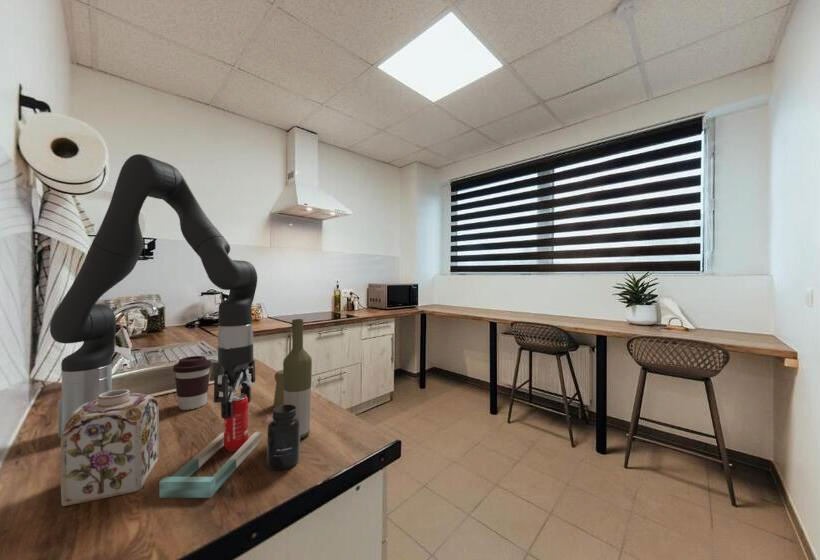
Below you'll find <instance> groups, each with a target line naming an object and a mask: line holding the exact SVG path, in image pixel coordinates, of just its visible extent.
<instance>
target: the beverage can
mask: <svg viewBox="0 0 820 560" xmlns="http://www.w3.org/2000/svg"><path fill="white" fill-rule="evenodd" d="M232 402H233V416H232V417H231V418H223V432H224V445H223V446H224V447H225V449H226V451H227V452H235V451H236V452H237V451H238V450H239V449H240V447H241V446H242V445H243V444H244V443H245V442H246V441H247V440H248V439H249V403H248V398H247V395H246V394H242V393H241V392H240V393H239V392H238V393H234V395H233V399H232Z"/></svg>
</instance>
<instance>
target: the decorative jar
mask: <svg viewBox="0 0 820 560" xmlns="http://www.w3.org/2000/svg"><path fill="white" fill-rule="evenodd" d="M159 404H160V402H159V401H158V400H157V399H156V398H155V397H154V396H153V395H149V394H146V393H142V392H141V393H140V392H136V393H130V390H129V389H116V390H113V389H112V391H109V392H105V393H102V394H100V395H99V396H98V399H96V400H94V401H91V402H88V403H85V404H83V405H82V406H80V407H79V408H77V409H76V410H75V411H74V412H73V413H72V414H71V416H70V417H69V420H68V422H67V423H66V425H65V427H64V429H63V431H62V432H61V434H60V435H61V437H60V500H61V501H60V502H61V507H67V506H73V505H74V506H75V505H77V504H83V503H84V504H85V503H88V502H89V503H90V502H93V501H97V500H103V499H107V498H112V497H116V496H121V495H126V494H131V493H135V492H136V493H137V492H140V491H141V489H142V488H143V486H144V485H145V483H146V481H147V479H148V477H149V476H150V474H151V472H152V471H153V469H154V467H155V466H156V464H157V463H158V461H159V460H160V459H159V453H160V451H159V450H160V424H159V423H160V419H159V417H160V414H159V413H160V412H159Z"/></svg>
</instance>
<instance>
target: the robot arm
mask: <svg viewBox="0 0 820 560" xmlns="http://www.w3.org/2000/svg"><path fill="white" fill-rule="evenodd" d="M118 174H119V175H118V177H117V180H116V183H115V185H114V190H113V193H112V196H111V200H110V202H109V206H108V208H107V210H106V213H105V215H104V217H103V220H102V222H101V225H100V226H99V228H98V231H97V233H96V235H95V236H94V238H93V240H92V242H91V244H90V246H89V248H88V251H87V254H86V256H85V258H84V260H83V263H82V265H81V266H80V269H79V271H78V273H77V275H76V277H75V279H74V280H73V283H72V284H71V286H70V287H69V289H68V290H67V293H66V294H64V295H65V296H64V297H63V298H62V299H61V302H60V303H59V304H58V305H57V306H58V307H57V308H56V309H55V311H54V313H53V314H52V317H51V319H50V325H49V332H50V335H51V337H52V339H53V340H54V341H55V342H57V343H60V344H75V343H76V344H77V343H81V342H83V344H82V345H81V346H80V347H79V348H78V349H77V350H76V351H74V352H72V353H71V354H69V355H67V356H65V357H64V358H63V359H62V360H61V365H60V367H61V398H60V399H58V401H57V420H58V421H57V424H58V426H57V429H58V430H57V431H58V433H57V434H58V436H57V437H58V438H61V435H60V434H61V432H62V431H63V429H64V427H65V425H66V423H67V422H68V420H69V417H70V416H71V414H72V413H73V412H74V411H75V410H76V409H77V408H79V407H80V406H82V405H83V404H85V403H88V402H91V401H94V400H96V399H98V396H99V395H100V394H102V393H105V392H109V391H113V388H112V387H113V385H112V383H113V379H112V377H113V376H112V375H113V372H112V371H113V370H112V365H113V364H112V358H113V356H114V354H115V348H116V334H117V332H116V331H117V319H116V315H115V312H114V310H112V308H111V307H110V306H109V305H106V304H103V303H102V304H100V303H98V304H97V302H98V301H99V299H100V298H102V297H103V296H104V294H106V293H107V292H108V291H109V290H111V289H112V288H113V287H115V286H116V285H118V284H119V283H120V282H121V281H123V280H124V279H126V278H127V277H128V276H129V275H130V274H131V273H132V272H133V270H134V269H135V267H136V265H137V262H138V261H139V259H140V257H141V254H142V252H143V250H144V240H143V239H144V238H143V234H142V232H141V227H140V223H139V221H140V219H139V218H140V213H141V210H142V207H143V205H144V204H145V201H146V199H147V198H148V197H150V198H153V199H158V200H163V201H164V202H165V203H166V204H167V205H168V206H170V207H171V209H173V210H174V211H175V212H176V214H177V216H178V219H179V226H180V231H181V233H182V237H183V238H184V239H185V241H186V242H187V243H188V245H189V247H190V248H192V250H193V251H194V252H195V253H196V255H197V256H198V257H199V258H200V261H201V264H202V266H203V269H204V270H205V273H206V275H207V278H208V279H209V281H211V283H212V284H213V285H215V286H216V287H217V288H218V289H221V290H224V291H229V293H228V297H227V298H226V299H224V300H223V301H221V302H220V303H219V305H218V331H217V363H218V365H219V366H221V367H223V373H222V374H218V375H217V374H216V375H214V379H213V380H214V383H213V386H214V387H213V402H214V404H217V403H220V411H221V412H220V413H221V415H220V416H221V418H222V419H224V418H231V417H232V416H233V402H232V399H233V395H234V394H236V392H237V391H238V390H239V386H240V393H242V394H246V395H247V398H248V404H249V403H250V402H252V396H251V394H252V393H251V392H252V391H251V389H252V387H253V383H254V384H255V383H256V362H255V360H254V329H253V318H252V315H253V313H252V306H253V302H254V299H255V294H256V290H257V287H258V286H257V284H258V274H257V269H256V268H255V266H254V264H252V263H251V262H250V261H246V260H236V259H232V258H231V257H230V255H229V253H230V251H231V246H230V243H229V242H228V241H227V239H226V238H225V237H224V236H223V234H222V233H221V232H220V231H219V230H218V228H217V227H216V226H215V225H214V224H213V223H212V221H211V220H210V218H209V217H208V216H207V215H206V213H205V212H204V210H203V208H202V207H201V205H200V203H199V202H198V200H197V198H196V197H195V195H194V193H193V191H192V189H191V188H190V186H189V184H188V183H187V181H186V179H185V178H184V176H183V175H182V173H181V172H180V171H179V169H178V168H176V167H175V166H174V165H171V164H169V163H167V162H165V161H162V160H159V159H156V158H153V157H152V156H149V155H145V154H140V153H137V154H133V155H131V156H129V157H128V158H127V159H126V160H125V161H124V163H123V165H122V167H121V169H120V170H119V173H118Z"/></svg>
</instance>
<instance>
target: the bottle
mask: <svg viewBox="0 0 820 560" xmlns="http://www.w3.org/2000/svg"><path fill="white" fill-rule="evenodd" d="M291 326H292V327H291V328H292V335H291V336H292V337H291V339H292V342H291V343H292V344H291V345H292V349H291V351H289V353H288V354H287V355H286V357H285V358H284V359H283V364H282V366H283V367H282V370H283V380H284V405H293V406H295V407H296V418H298V419H299V421H300V439H302V438H305V437H307V436H308V435H309V434H310V431H311V424H312V423H311V421H312V419H311V418H312V365H313V364H312V363H313V362H312V361H313V358H312V357H311V355H310V354H309V353H308V352H307V351H306V350H305V349H304V319H302V318H297V319H295V318H294V319H292V320H291Z"/></svg>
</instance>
